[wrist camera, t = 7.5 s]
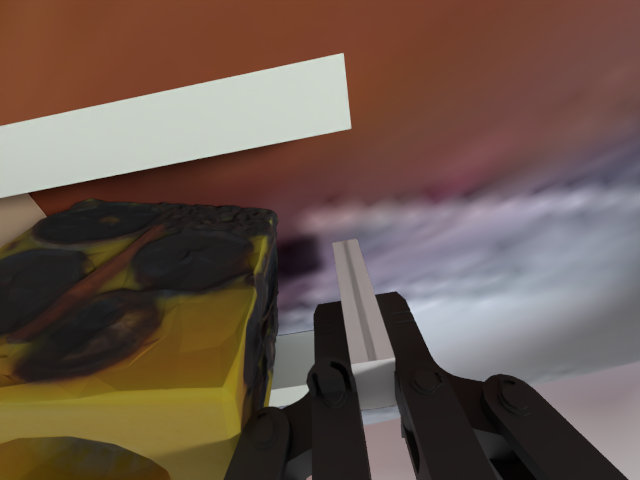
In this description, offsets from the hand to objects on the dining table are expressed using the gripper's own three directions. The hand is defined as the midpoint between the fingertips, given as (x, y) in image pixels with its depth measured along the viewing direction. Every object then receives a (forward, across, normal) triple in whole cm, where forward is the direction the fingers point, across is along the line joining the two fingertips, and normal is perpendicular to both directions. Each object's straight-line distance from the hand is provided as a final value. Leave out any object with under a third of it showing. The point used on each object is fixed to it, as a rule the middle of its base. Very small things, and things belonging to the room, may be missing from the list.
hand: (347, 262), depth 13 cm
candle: (+2, +9, +1) cm, 10 cm away
